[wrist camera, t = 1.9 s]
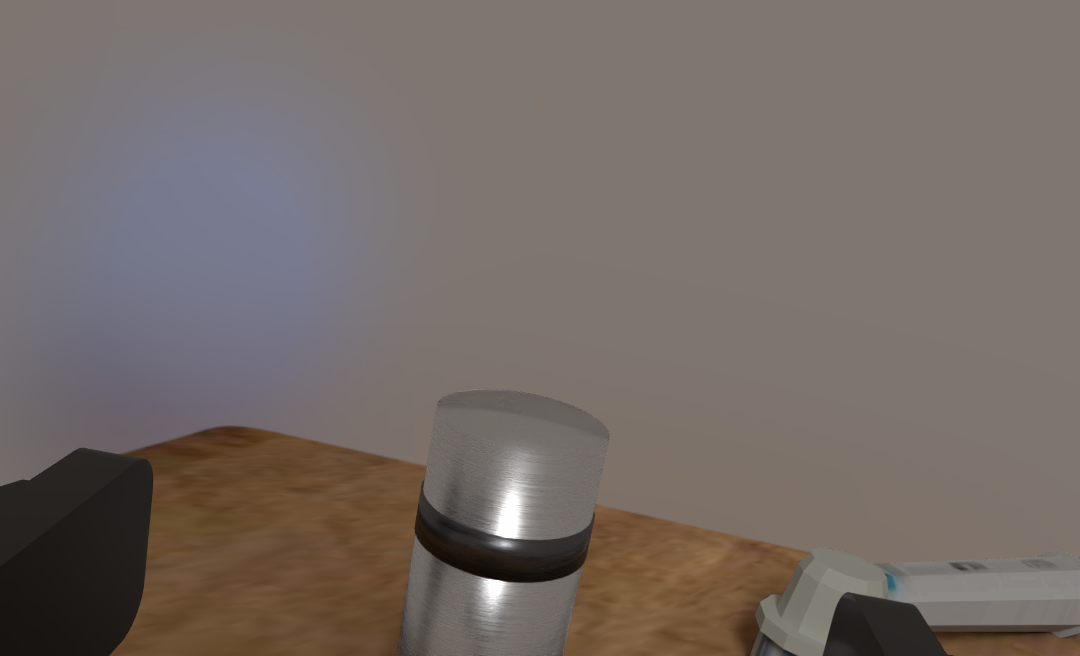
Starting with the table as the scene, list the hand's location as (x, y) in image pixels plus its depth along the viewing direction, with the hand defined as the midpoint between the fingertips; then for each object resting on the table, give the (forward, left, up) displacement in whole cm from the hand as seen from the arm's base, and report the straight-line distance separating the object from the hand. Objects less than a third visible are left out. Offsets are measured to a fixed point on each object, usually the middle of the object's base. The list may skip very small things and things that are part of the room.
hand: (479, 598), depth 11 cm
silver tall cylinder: (-1, +11, -18) cm, 21 cm away
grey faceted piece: (+19, +37, -18) cm, 46 cm away
